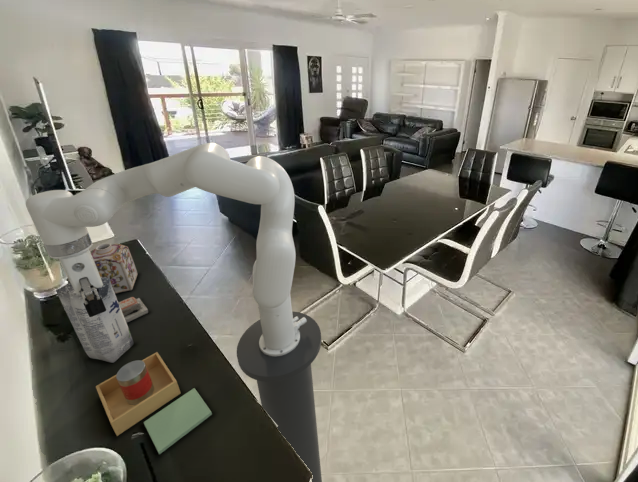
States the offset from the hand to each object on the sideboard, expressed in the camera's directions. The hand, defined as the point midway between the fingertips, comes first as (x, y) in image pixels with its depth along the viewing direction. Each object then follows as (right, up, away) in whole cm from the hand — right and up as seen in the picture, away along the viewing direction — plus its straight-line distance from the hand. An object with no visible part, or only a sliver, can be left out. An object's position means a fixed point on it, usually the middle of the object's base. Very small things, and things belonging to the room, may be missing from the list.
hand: (94, 303), depth 80 cm
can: (+7, -26, +6) cm, 27 cm away
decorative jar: (-32, -8, +47) cm, 57 cm away
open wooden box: (+7, -27, +6) cm, 28 cm away
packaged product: (-20, -16, +30) cm, 39 cm away
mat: (+21, -29, +1) cm, 36 cm away
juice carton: (-11, -21, +19) cm, 30 cm away
